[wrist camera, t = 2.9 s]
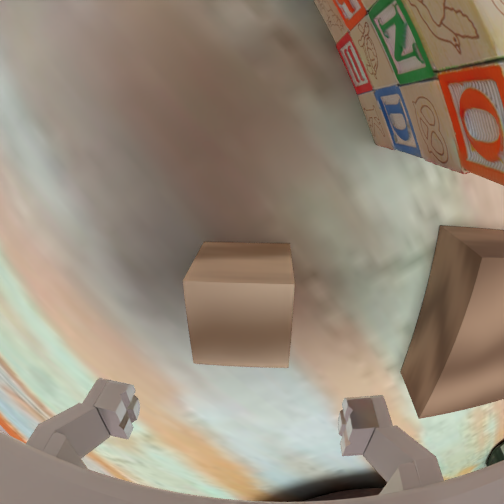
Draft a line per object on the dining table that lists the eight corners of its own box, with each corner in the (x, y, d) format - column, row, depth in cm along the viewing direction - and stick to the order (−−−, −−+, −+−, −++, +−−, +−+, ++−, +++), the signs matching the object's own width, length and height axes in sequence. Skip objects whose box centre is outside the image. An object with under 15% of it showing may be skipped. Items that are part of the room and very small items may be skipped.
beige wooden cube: (204, 241, 19) (182, 281, 14) (289, 242, 19) (294, 284, 14) (209, 312, 21) (193, 363, 16) (286, 315, 20) (288, 367, 16)
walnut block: (440, 225, 17) (482, 257, 13) (549, 234, 17) (587, 259, 12) (400, 371, 22) (418, 418, 17) (505, 356, 21) (529, 390, 17)
